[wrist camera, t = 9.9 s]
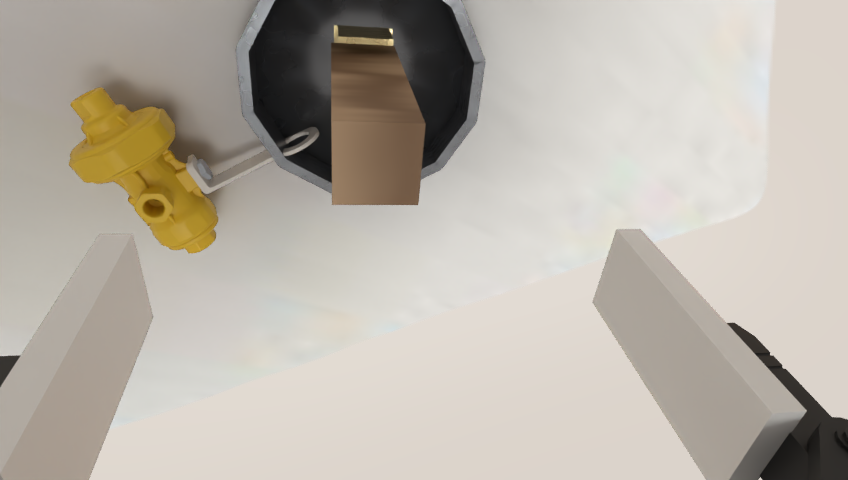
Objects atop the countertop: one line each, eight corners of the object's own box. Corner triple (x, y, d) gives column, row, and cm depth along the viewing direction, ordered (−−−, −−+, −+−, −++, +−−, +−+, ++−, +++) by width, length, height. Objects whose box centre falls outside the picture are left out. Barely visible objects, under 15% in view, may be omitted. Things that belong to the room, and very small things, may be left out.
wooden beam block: (331, 104, 31) (332, 204, 22) (330, 42, 30) (331, 121, 20) (391, 106, 32) (418, 204, 22) (394, 45, 30) (425, 123, 20)
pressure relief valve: (169, 241, 35) (54, 103, 29) (334, 156, 35) (251, 6, 30) (159, 287, 30) (21, 134, 25) (349, 188, 31) (255, 18, 25)
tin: (256, 170, 34) (249, 195, 31) (234, -65, 27) (223, -60, 24) (456, 173, 36) (467, 197, 33) (485, -44, 29) (501, -37, 26)
